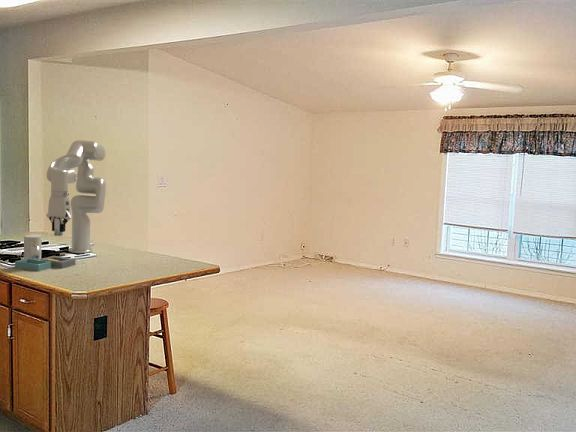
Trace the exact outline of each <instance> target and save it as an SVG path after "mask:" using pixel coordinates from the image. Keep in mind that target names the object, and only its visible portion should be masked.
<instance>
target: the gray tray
mask: <svg viewBox="0 0 576 432" xmlns="http://www.w3.org/2000/svg"><path fill="white" fill-rule="evenodd" d="M40 260H42V261H49V262H51V268H57V269H64V268H65V269H66V268H69V267H72V266H73V267H74V266H76V260H77V259H76V258H73V257H72V258H70V257H66V256H65V257H64V256H56V255H52V256H48V257H43V258H41V259H40Z"/></svg>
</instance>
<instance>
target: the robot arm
mask: <svg viewBox="0 0 576 432" xmlns="http://www.w3.org/2000/svg"><path fill="white" fill-rule="evenodd" d="M105 157H106V149H105V147H104V146H103V145H101V143H98V142H97V141H94V140H79V139H77V140H75V141H73V142H71V145H70V147H69V149H68V151H67V152H66V154H65V155H64V154H63V156H60V157H58V158H56V159H54V160H53V161H52V162H51V163H50V164H49V166H48V168H47V171H46V179H47V181H48V182H50V197H49V201H48V210H47V214H46V217H47V219H48V220H49V221H50V223H51V231H52V232H54V218H57V217H58V218H60V219H61V224H60V232H63V233H65V232H66V224H67V223H68V222H69V221H70V220H71V247H70V248H68V252H69V253H73V254H87V253H88V254H89V253H91V252H93V248H92V247H93V246H95V243H94V242H91V239H90V238H91V219H90V217H89V215H88V214H87V213H89V214H101V213H102V212H103V211H104V209H105V207H104V206H105V200H106V199H105V198H106V193H107V192H106V191H107V183H106V180H105V178H103V177H99V176H94V173H95V168H94V166H93V165H92V163H91V162H90V161H99V162H100V161H103V160H104V159H105ZM74 168H77V171H76V170H75V169H74ZM74 183H76V184H75V189H76V191H77V192H78V193H80V194H77V195H73V197H71V199H70V198H69V197H68V196H70V193H69V192H68V189H69V188H68V186H69V184H74ZM83 194H86V195H83ZM88 194H89V195H88Z"/></svg>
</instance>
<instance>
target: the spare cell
mask: <svg viewBox="0 0 576 432" xmlns="http://www.w3.org/2000/svg"><path fill="white" fill-rule="evenodd" d="M31 259H36V260H40V246H37V245H34V246H31Z"/></svg>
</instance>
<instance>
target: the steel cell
mask: <svg viewBox="0 0 576 432" xmlns="http://www.w3.org/2000/svg"><path fill="white" fill-rule="evenodd" d="M60 224H61V219H60V218H58V217H57V218H54V231H53V235H54V236H56V237H57V236H58V237H63V235H64V232H60Z"/></svg>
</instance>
